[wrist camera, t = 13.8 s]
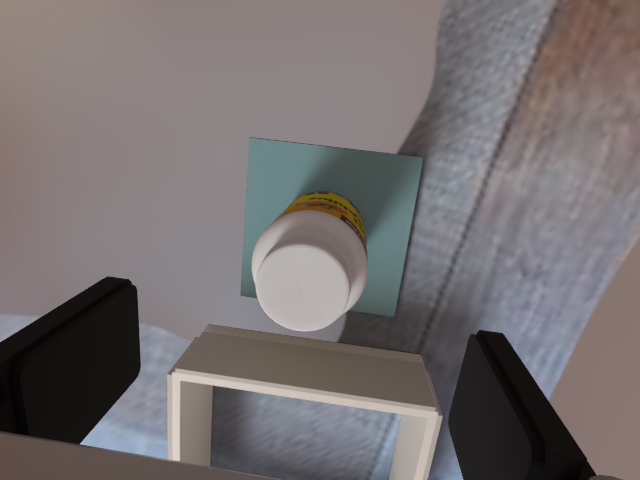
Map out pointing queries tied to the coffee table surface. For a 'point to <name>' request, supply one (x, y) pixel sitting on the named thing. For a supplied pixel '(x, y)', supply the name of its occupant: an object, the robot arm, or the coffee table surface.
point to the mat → (349, 181)
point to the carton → (302, 388)
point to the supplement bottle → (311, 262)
